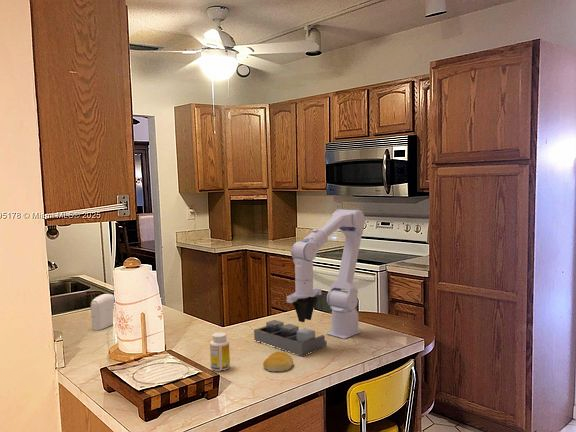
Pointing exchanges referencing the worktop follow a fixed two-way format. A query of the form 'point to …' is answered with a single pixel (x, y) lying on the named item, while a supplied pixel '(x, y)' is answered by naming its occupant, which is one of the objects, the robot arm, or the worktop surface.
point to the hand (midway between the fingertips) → (304, 320)
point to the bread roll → (278, 362)
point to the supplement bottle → (219, 352)
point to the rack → (287, 338)
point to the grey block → (305, 335)
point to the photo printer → (102, 311)
